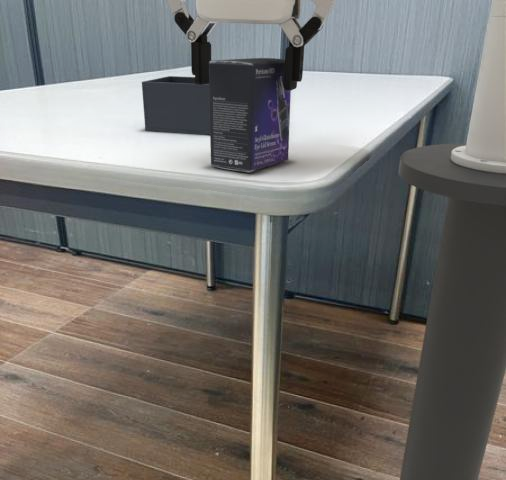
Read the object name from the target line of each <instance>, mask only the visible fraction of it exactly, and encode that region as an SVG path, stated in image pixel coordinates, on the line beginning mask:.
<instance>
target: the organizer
mask: <svg viewBox="0 0 506 480" xmlns="http://www.w3.org/2000/svg"><path fill="white" fill-rule="evenodd" d="M141 88H142V89H141V90H142V104H143V116H144V130H145V131H146V132H160V133H176V134H191V135H207V136H210V89H209V83H206V84H202V85H197V84H195V76H175V75H167V76H163V77H159V78H153V79H149V80H143V81H141Z"/></svg>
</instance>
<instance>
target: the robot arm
mask: <svg viewBox="0 0 506 480" xmlns="http://www.w3.org/2000/svg"><path fill="white" fill-rule="evenodd" d="M311 1H312V2H313V4H315V9H314V11H313V14H312V16H311V17H310V18H309V20H307V22H305V24H303V26H302V25H301V23H300V21H299V19H300V17H301V14H302V9H303V8H302V7H303V0H195V9H196V14H197V17H196V18H195V19H194V18H193V17H192V15H191V14H190V13H189V12H188V10H187V7H186V0H166V2H167V5H168V7H169V9H170V12H171V14H172V15H173V18H174V23H175V24H176V25H177V27H178V28H179V29H180V30H181V31H182V33H183V34H184V35H185V38H186V40H187V41H188V42H189V43H190V56H191V57H190V59H191V60H190V62H191V63H190V65H191V66H190V67H191V70H190V71H191V75H192V76H194V77H195V84H197V85H202V84H206V83H209V62H210V61H211V60H212V44H211V42H210V41H208V37H209V36H210V34H211V32H212V31H213V29H214V28H215V27H216V25H217V24H218V23H225V24H247V25H248V24H249V25H250V24H252V25H279V27H280V28H281V30H282V31H283V33H284V34H285V36H286V37H287V39H288V41H289V42H288V43H289V44H288V46H287V47H286V48H285V52H284V60H285V68H284V89H285V90H289V91H291V92H292V91H293V90H296V89H297V87H298V82H299V83H300V82H302V80H303V76H304V75H303V73H304V58H305V47H306V46H307V45H308V44H309V42H310V41H311V40H312V39H314V37H315V36H316V35H317V34H318V33H319V32H320V31H321V30H322V29H323V27H324V25H325V23H326V21H327V19H328V17H329V15H330V14H331V12H332V10H333V8H334V6H335V4H336V0H311ZM485 31H486V32H485V37H484V42H483V47H482V54H481V58H480V59H481V60H480V64H479V70H478V77H477V82H476V87H475V93H474V99H473V104H472V109H471V116H470V120H469V127H468V132H467V136H466V137H467V139H466V142H465V143H466V146H460V147H457V148H455V149H453V150H452V152H451V160H452V162H454V163H455V164H457V165H460V166H462V167H466V168H469V169H473V170H478V171H484V172H490V173H498V174H506V0H491V4H490V10H489V15H488V19H487V27H486V30H485Z"/></svg>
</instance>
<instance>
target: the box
mask: <svg viewBox="0 0 506 480" xmlns="http://www.w3.org/2000/svg"><path fill="white" fill-rule="evenodd" d="M284 68H285V58H284V59H283V58H273V57H256V58H255V57H253V58H234V59H231V58H230V59H213V60H212V59H211V61H210V62H209V89H210V135H209V138H210V139H209V140H210V165H211V167H214V168H218V169H221V170H224V171H225V170H226V171H234V172H242V173H247V174H249V173H251V174H252V173H253V172H254V171H256V170H259V169H260V170H261V169H263V168H266V167H270V166H273V165H276V164H279V163H285V162H288V160H289V150H290V149H289V148H290V147H289V146H290V126H291V125H290V121H291V120H290V119H291V93H292V90H291V91H289V90H285V89H284Z"/></svg>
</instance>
